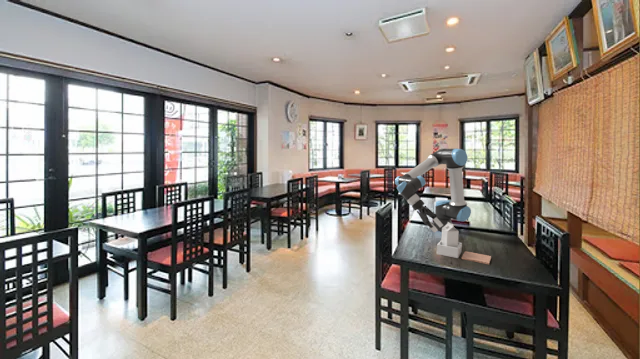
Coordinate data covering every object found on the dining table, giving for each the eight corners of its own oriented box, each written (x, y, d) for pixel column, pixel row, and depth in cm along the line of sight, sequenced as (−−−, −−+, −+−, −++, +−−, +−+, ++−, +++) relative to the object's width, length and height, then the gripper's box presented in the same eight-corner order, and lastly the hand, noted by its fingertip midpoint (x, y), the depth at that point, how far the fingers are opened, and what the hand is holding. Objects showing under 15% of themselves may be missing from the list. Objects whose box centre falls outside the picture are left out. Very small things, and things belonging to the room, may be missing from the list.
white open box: (441, 248, 185) (441, 239, 184) (461, 252, 178) (461, 242, 177) (436, 253, 175) (436, 244, 175) (457, 258, 168) (458, 248, 168)
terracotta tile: (464, 252, 177) (465, 251, 177) (491, 257, 169) (491, 256, 169) (461, 259, 167) (461, 257, 167) (489, 264, 159) (489, 262, 159)
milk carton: (451, 250, 180) (453, 221, 178) (457, 255, 173) (459, 224, 171) (440, 251, 180) (442, 221, 178) (446, 255, 173) (447, 225, 171)
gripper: (417, 202, 197) (439, 227, 190) (405, 209, 177) (428, 237, 170) (425, 196, 193) (448, 221, 186) (414, 202, 173) (438, 230, 166)
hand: (439, 229), depth 178 cm, fingers open, 13 cm apart
